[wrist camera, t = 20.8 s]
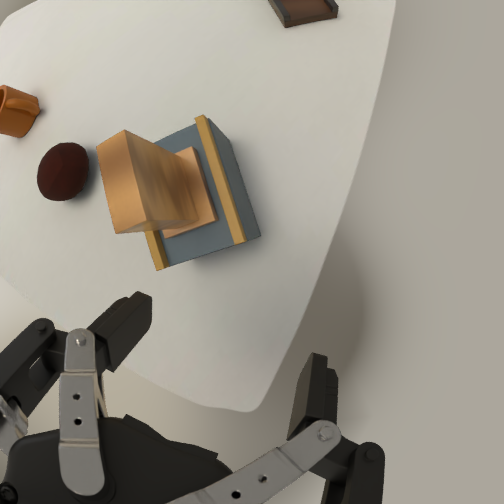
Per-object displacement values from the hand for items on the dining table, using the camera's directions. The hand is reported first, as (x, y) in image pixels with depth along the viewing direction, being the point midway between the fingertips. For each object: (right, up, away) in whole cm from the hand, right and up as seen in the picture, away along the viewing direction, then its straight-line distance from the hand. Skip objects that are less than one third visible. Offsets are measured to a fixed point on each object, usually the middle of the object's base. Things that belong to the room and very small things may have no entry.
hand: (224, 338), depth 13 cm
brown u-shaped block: (+8, +40, +15) cm, 43 cm away
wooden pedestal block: (-5, +9, +12) cm, 16 cm away
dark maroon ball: (-25, +16, +23) cm, 37 cm away
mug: (-42, +30, +25) cm, 57 cm away
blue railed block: (-4, +10, +20) cm, 23 cm away
